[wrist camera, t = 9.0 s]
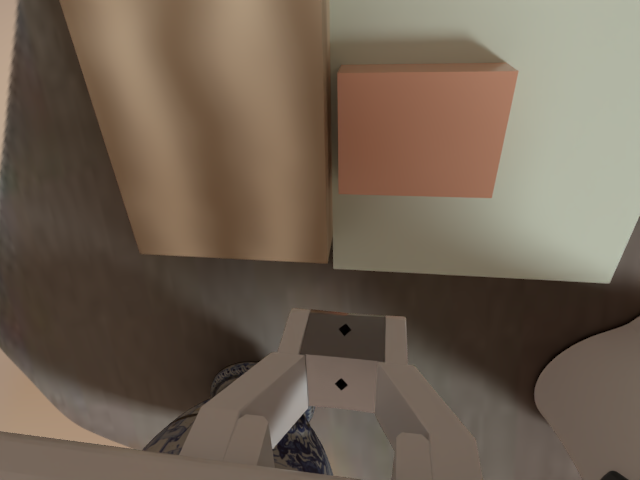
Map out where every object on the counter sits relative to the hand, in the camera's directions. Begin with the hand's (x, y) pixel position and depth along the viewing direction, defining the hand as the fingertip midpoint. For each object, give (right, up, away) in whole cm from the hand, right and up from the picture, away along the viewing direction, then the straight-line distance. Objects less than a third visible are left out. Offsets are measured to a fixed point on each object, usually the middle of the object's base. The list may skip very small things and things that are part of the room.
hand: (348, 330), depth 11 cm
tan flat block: (-6, +10, +16) cm, 20 cm away
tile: (+5, +9, +14) cm, 17 cm away
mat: (+10, +9, +14) cm, 19 cm away
